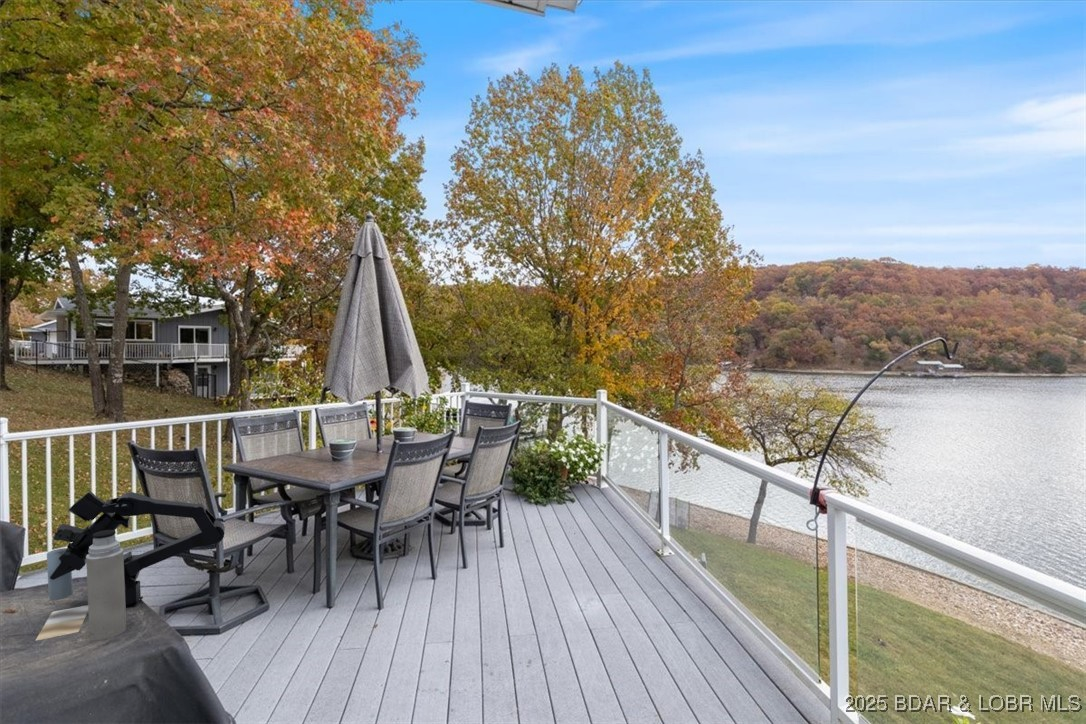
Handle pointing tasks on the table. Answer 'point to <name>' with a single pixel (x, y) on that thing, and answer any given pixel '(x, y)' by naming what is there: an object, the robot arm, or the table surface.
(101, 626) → the thermos bottle
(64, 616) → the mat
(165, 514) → the robot arm
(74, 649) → the table surface
